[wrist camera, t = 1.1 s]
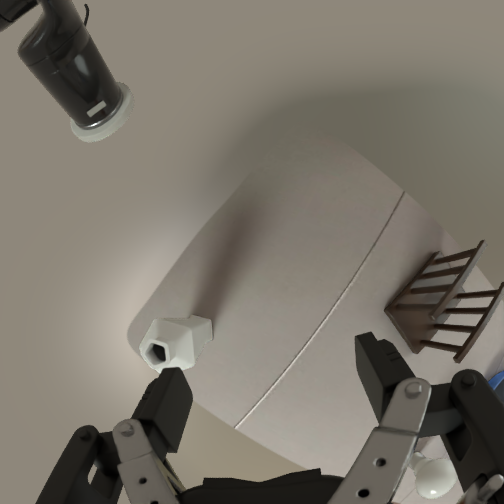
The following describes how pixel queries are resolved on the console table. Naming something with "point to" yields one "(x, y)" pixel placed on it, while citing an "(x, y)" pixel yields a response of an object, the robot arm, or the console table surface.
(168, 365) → the perfume bottle
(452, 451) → the robot arm
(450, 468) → the lightbulb
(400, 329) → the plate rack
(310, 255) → the console table surface
